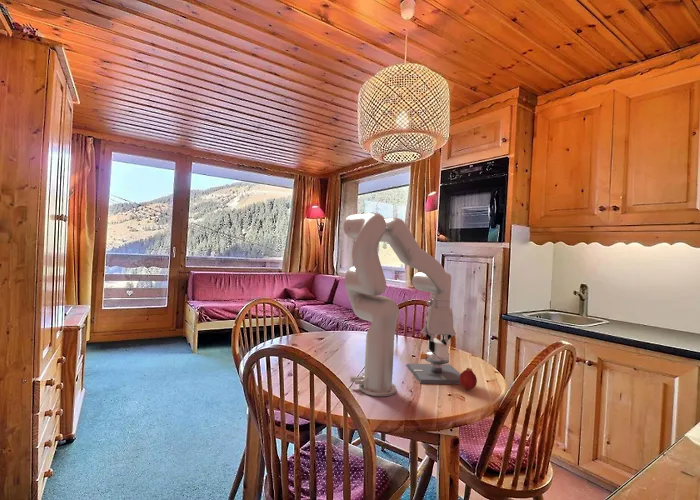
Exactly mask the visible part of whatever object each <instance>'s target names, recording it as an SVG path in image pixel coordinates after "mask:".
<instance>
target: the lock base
mask: <svg viewBox="0 0 700 500" xmlns="http://www.w3.org/2000/svg"><path fill="white" fill-rule="evenodd" d="M406 367H407V369H408V370H409V371H410V372H411V374H412V375H413V376H414V378H416V380H417V381H418V382H419V383H420V385H421V384H423V385H424V384H427V385H429V384H430V385H434V384H435V385H461V384H460V381H459V378H460V375H461V373H462V372H461V373H460V371H458V370H457V369H456V368H454V366H452V365H451V363H450V364H449V363H447V364H435V363H431V362H430V363H407V365H406Z"/></svg>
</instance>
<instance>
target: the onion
mask: <svg viewBox="0 0 700 500" xmlns="http://www.w3.org/2000/svg"><path fill="white" fill-rule="evenodd" d="M465 369H466V370H463V371H462V372H461V375H460V378H459V381H460V384H459V385H461V387H462V388H463V389H464V390H465V391H467V392H468V391H471V390H473V389H474V388H475V387H476V386H477V383H478V380H477V379H478V378H477V376H476V374H475V373H474V372H473V371H472V370H471V369H470V367H466V368H465Z"/></svg>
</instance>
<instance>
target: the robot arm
mask: <svg viewBox="0 0 700 500" xmlns="http://www.w3.org/2000/svg"><path fill="white" fill-rule="evenodd" d="M342 228H343V231H344V234H345V235H346V236H347V237H348V238H349V239H352V240H355V241H354V244H353V247H352V251H351V258H352V262H353V266H351V267H349V269H348V270H347V271H346V272H345V275H344V288H345V290H346V293H347V297H348V299H349V302H350V305H351V308H352V310H353V313H354V314H355V316H356V317H357V318H359V319H361V320H363V321H368V322H369V323H370V326H369V327H368V330H367V332H366V336H365V337H366V338H365V356H364V357H365V358H364V371H363V372H362V375H358V376H356V375H353V376H352V375H351V376H350V377H349V378H350V381H349V383H354V385H358V388H359V390H360V392H362V393H363V394H366V395H368V396H373V397H389V396H393V395H394V394H395V393H397V386H396V385H395V384H394V383H393V372H394V371H393V369H394V355H395V353H394V352H395V351H394V350H395V335H396V329H397V328H396V327H397V323H398V319H399V314H400V309H399V305H398V304H397V302H396V301H395V300H394V299H393V298H391V297H389V296H384V295H382V294H384V293H385V291H386V288H387V281H386V278H385V274H384V270H383V267H382V264H381V260H380V257H379V251H378V250H379V244H380V243H381V242H384V243H388V245H390V247H391V249H392V250H393V252H394V253H395V255H396V257H397V258H398V259H399V261H400V262H401V263H402V264H404V265H406V266H408V267H410V268H412V269H415V270H417V271H419V272H416V273H414V274H413V276H412V278H411V283H412V286H413V287H414V289H416V290H418V291H421V292H425V293H430V295H429V297H430V298H429V300H426V305H429V306H428V307H427V310H426V316H425V321H424V326H423V328H422V329H421V331H420V333H421V334H422V335H423V336H425V337H426V339H427V340H429V348H428V350H430V351H431V352H434V344H435V343H434V338H435V335H439V336H440V335H441V339H442V340H441V341H440V342H442V343H443V344H445V345H446V346H447V347H448V344H447V343H448V342H449V340H450V339H452V337H454V336H456V334H457V333H456V331H455V329H454V314H453V309H452V308H451V306H450V305H451V290H452V288H451V287H452V274H450V273H448V272H446V270H445V268H444V267H443V265H442V264H441V263H440V262H439V261H438V260H437V259H436V258H435V257H434V256H432V255H431V254H430V253H428V252H427V251H425V250H424V249H422V248H421V247H420V246H419V243H418V242H417V240H416V238H415V237H414V236H413V234H412V233H411V230H410V229H409V226H407V224H406V223H405V222H404V220H403V219H401V218H398V217H384V216H383V215H382V214H380V213H376V212H369V213H368V212H366V213H358V214H350V215H348V216H347V217H346V219H345V220H344V221H343V227H342Z"/></svg>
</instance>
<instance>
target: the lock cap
mask: <svg viewBox="0 0 700 500" xmlns="http://www.w3.org/2000/svg"><path fill="white" fill-rule="evenodd" d="M427 340H428V339H427ZM434 343H435V344H434V352H431V351H430V349H429V340H428V341H427V349H426V350H425V352H420V353H419V359H420V360H425V361H426V362H428V363H430V364H431V363H435V364H449V363H450V353H449V346H448V345H447V346H446V345H445V344H443V343H442V342H441V341H440V339H438V338H436V337H434Z"/></svg>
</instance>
